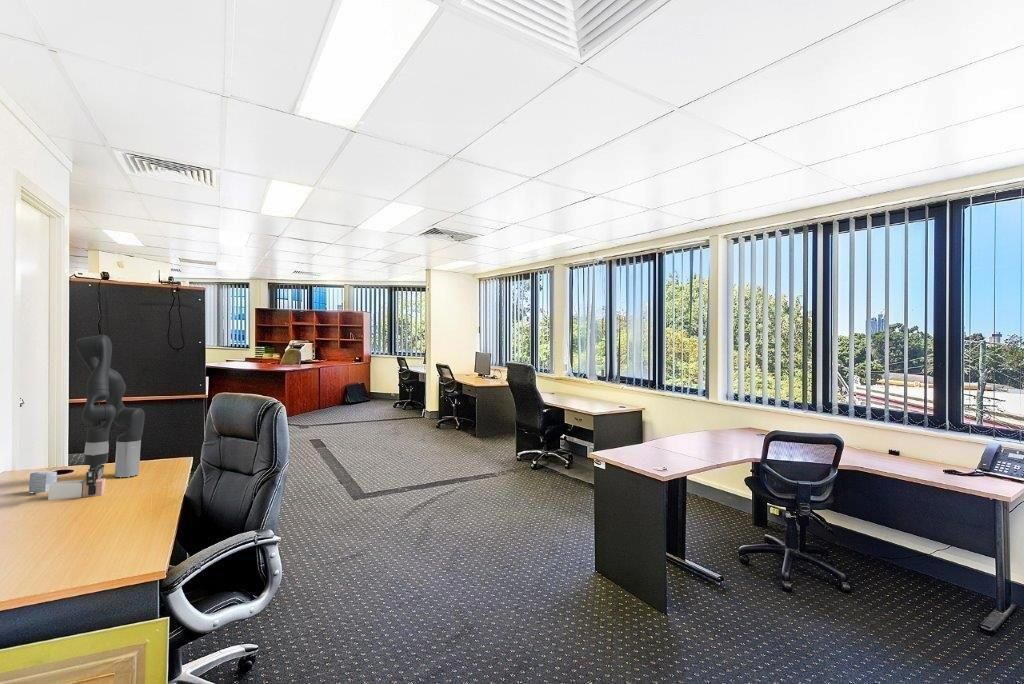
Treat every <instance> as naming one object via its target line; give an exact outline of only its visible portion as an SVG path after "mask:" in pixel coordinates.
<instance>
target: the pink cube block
mask: <svg viewBox="0 0 1024 684" xmlns="http://www.w3.org/2000/svg"><path fill="white" fill-rule="evenodd" d="M91 482H93V481H92V480H91ZM106 482H107V478H102V479H98V480H97V483H96V493H95V494H94V495H88V487H89V486H86V481H85V482H84V483H83V494H82V497H81V498H85V497H97V496H98V497H99V496H103V495H104V494H105V492H106Z"/></svg>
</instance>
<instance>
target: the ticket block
mask: <svg viewBox="0 0 1024 684" xmlns="http://www.w3.org/2000/svg"><path fill="white" fill-rule="evenodd" d="M85 481H86V479H78V480H64V481H57V482H54V483H52V484H50V485H49V491H48V495H47V497H48V498H47V500H48V501H53V500H64V499H74V498H83V497H82V494H83V483H84V482H85Z"/></svg>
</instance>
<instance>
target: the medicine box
mask: <svg viewBox="0 0 1024 684" xmlns="http://www.w3.org/2000/svg"><path fill="white" fill-rule="evenodd" d="M57 477H58V471H51V470H49V471H48V470H40V471H39V470H38V471H35V472H34V471H33V472H31V473H30V475H29V483H28V484H29V485H28V486H29V487H28V488H29V489H28V493H29V492H33V493H38V494H39V493H41V492H42V493H46V492H49V485H50V484H52V483H54V482H58V478H57Z"/></svg>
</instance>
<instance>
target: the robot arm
mask: <svg viewBox="0 0 1024 684" xmlns="http://www.w3.org/2000/svg"><path fill="white" fill-rule="evenodd" d="M75 348H76V351H77V354H78V355H79V356H80V359H81V360H82V361H83V363H84V364H85V366H86V367H87V368H88V370H89V371H90V375H89V376H88V379H87V382H86V401H85V404H84V408H83V410H82V414H81V418H82V420H83V421H84V422H87V423H94V422H102V423H101V424H99V425H98V426H93V427H90V428H87V430H86V435H85V436H86V438H85V444H84V445H85V446H84V454H83V456H84V457H83V464H84V465H85V466H89V468H88V469H87V471H86V472H85V478H86V486H89V487H88V495H94V494H95V493H96V483H97V480H98V479H103V477H104V471H105V470H104V469H105V464H107V463H108V462H109V447H110V443H109V439H110V438H109V437H110V436H109V435H110V428H111V426H112V423H114V424H115V425H116V426H117V427H123V428H124V427H125V428H128V430H127V431H126V432H124V433H120V434H119V435H117V437H116V445H115V446H116V448H115V461H114V462H115V463H114V474H113V475H114V476H115V477H120V478H119V479H122V478H121V477H128V478H131V477H130V476H134V477H136V476H135V475H137V476H139V475H138V474H140V464H141V463H140V462H141V461H140V460H141V459H140V458H141V447H142V446H141V444H142V436H143V434H144V426H145V418H146V417H145V416H146V415H145V410H143V408H141V407H126V406H125V404H124V403H123V397H124V395H125V393H126V390H127V389H126V388H127V387H126V383H125V381H124V379H123V376H122V375H121V374H120V373H119V372H118V371H117V370H115V369H113V368H112V367H111V362H112V353H113V344H112V340H111V339H110V337H109V336H108V335H105V334H99V335H93V336H92V335H91V336H85V337H81V338H80V337H79V338H78V339H76V340H75ZM97 357H100V358H99V359H98V358H97ZM102 401H105V402H106V404H95V403H99V402H102ZM115 477H114V478H115ZM91 480H92V481H93V482H91Z"/></svg>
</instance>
